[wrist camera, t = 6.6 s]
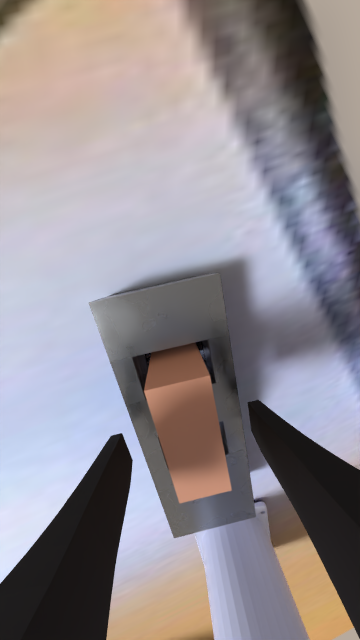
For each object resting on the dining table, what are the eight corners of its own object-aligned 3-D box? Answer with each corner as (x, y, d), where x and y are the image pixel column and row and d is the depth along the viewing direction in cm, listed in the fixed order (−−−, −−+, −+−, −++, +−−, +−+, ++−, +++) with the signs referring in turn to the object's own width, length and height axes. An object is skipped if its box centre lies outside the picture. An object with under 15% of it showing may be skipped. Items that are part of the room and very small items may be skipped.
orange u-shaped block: (208, 413, 15) (231, 490, 9) (174, 421, 15) (179, 503, 9) (191, 334, 13) (210, 375, 8) (153, 343, 13) (143, 390, 7)
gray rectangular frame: (240, 475, 17) (256, 517, 14) (172, 493, 17) (174, 538, 14) (206, 273, 12) (219, 273, 9) (108, 296, 12) (88, 302, 9)
